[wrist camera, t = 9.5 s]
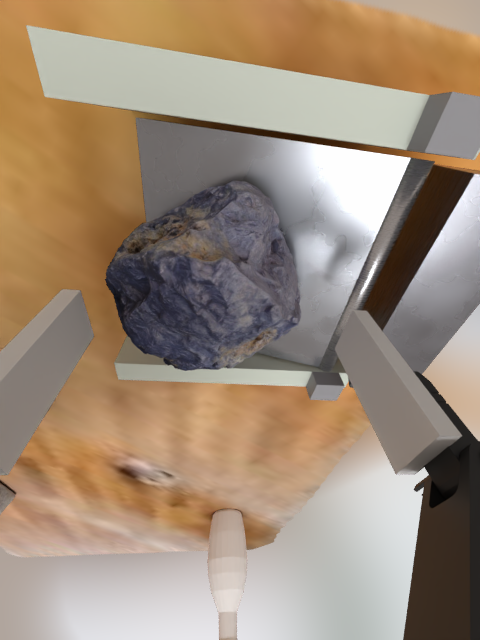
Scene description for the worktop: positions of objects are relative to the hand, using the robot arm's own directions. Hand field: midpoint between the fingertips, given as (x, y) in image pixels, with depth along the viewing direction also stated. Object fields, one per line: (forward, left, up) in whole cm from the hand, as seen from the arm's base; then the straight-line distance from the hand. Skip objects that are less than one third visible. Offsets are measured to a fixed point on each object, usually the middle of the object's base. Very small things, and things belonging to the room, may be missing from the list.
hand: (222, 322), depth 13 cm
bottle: (+8, -89, -17) cm, 91 cm away
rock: (+1, 0, -7) cm, 7 cm away
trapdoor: (+6, 0, -11) cm, 12 cm away
